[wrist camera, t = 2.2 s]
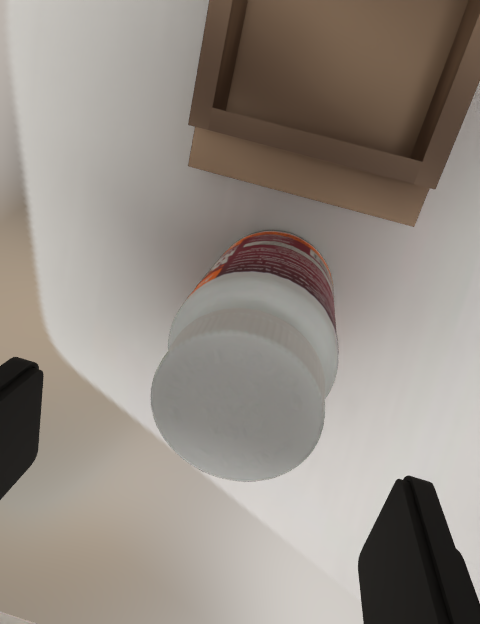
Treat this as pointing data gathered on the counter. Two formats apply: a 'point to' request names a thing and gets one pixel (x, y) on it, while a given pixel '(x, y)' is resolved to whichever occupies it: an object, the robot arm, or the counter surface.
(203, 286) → the pill bottle
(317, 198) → the caddy
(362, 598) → the robot arm
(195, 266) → the counter surface
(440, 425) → the counter surface
